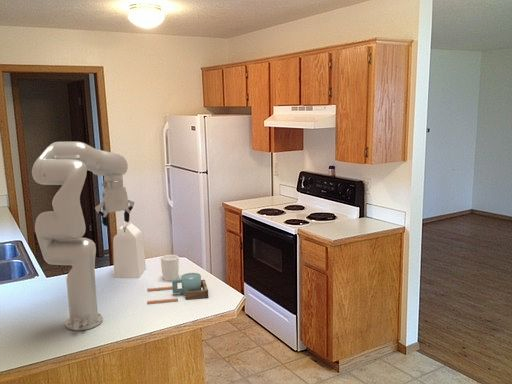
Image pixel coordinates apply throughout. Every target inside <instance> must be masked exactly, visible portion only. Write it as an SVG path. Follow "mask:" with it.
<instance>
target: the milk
mask: <svg viewBox="0 0 512 384" xmlns="http://www.w3.org/2000/svg"><path fill="white" fill-rule="evenodd" d="M117 231H118V232H117V233H116V234H115V235H114V236H113V239H112V242H113V243H112V245H113V246H112V248H113V251H112V252H113V279H140V278H141V276H142V275H143V274H144V273H145V271H146V270H147V268H146V266H147V265H146V257H145V246H144V237H143V232H142V231H141V230H140V229H139V228H138V227H137V226H136V225H134V224H133V223H132V218H131V217H130V219H129V222H125V221H124V220H123V225H121V226H120V227H119V228H118V229H117Z"/></svg>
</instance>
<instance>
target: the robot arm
mask: <svg viewBox="0 0 512 384" xmlns="http://www.w3.org/2000/svg"><path fill="white" fill-rule="evenodd" d="M128 166H129V165H128V161H127V160H126V159H125V157H124V156H123V155H122V154H120V153H119V154H118V153H115V152H111V151H106V150H102V149H97V148H95V147H93V146H91V145H89V144H88V143H85V142H83V141H82V142H81V141H54V142H52V143H51V144H49V145H48V146H46V148H45V149H44V150H43V151H42V152H41V154H40V155H39V157H37V159H35V161H34V163H33V166H32V168H31V176H32V178H33V180H34V181H35V183H37V184H39V185H41V186H42V185H43V186H47V185H49V186H51V185H52V186H60V185H61V187H60V188H59V189H58V190H57V192H56V193H55V195H54V196H53V198H52V201H51V202H52V203H51V205H52V206H51V207H52V210H50V211H43V212H40V214H38V215H37V217H36V220H35V222H34V223H35V224H34V230H35V236H36V239H37V242H38V245H39V248H40V251H41V254H42V257H43V260H44V261H45V262H46V263H47V264H48V265H56V266H57V265H58V266H72V267H71V269H70V271H69V272H68V273H67V275H66V288H67V289H66V290H67V302H68V303H67V304H68V313H69V317H68V319H66V321H65V327H66V328H67V329H68V330H71V331H85V330H90V329H93V328H96V327H98V326H99V325H100V324H101V323H102V322H103V321H104V319H103V315H102V314H101V313H99V310H98V301H97V299H98V298H97V296H98V295H97V288H96V286H97V285H96V272H95V268H96V267H95V264H96V254H97V247H96V243H95V242H94V240H92V239H90V238H87V237H84V235H85V233H86V230H87V229H86V222H85V217H84V214H83V209H82V205H81V195H82V194H81V193H82V190H83V187H84V185H85V182H86V181H85V180H86V179H87V172H88V171H89V172H92V174H93V175H95V176H103V180H104V181H103V182H102V183H101V185H100V186H101V187H104V188H103V189H102V200H101V203H99V204H98V205H96V206H95V207H94V209H95V211H96V212H97V214H99V216H101V222H102V225H103V226H105V227H109V220H108V214H110V213H115V212H121V211H124V212H123V216H124V217H123V218H124V219H123V222H124V221H125V222H129V219H130V218H131V217H130V214H131V212H132V209H133V208H134V205H135V202H134V201H133V200H130V199H129V198H128V197H129V196H128V191H127V189H126V186H124V183H123V182H124V179H123V178H124V177H123V176H124V175H126V173H127V171H128V170H129V169H128V168H129V167H128ZM101 208H102V211H101Z"/></svg>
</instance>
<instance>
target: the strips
mask: <svg viewBox="0 0 512 384" xmlns="http://www.w3.org/2000/svg"><path fill="white" fill-rule="evenodd" d="M169 290H173V289H172V285H171V286H169V285H168V286H160V287H150V288H147V292H159V291H169ZM175 302H176V303H177V302H179V298H178V297H175V298H166V299H165V298H164V299H152V300H146V304H147V305H153V304H164V303H175Z"/></svg>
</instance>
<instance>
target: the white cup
mask: <svg viewBox="0 0 512 384" xmlns="http://www.w3.org/2000/svg"><path fill="white" fill-rule="evenodd" d="M179 257H180V256H178V255H177V254H166V255H162V256H161V257H160V264H161V265H160V266H161V274H162V280H164V281H166V282H172V279H179Z"/></svg>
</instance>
